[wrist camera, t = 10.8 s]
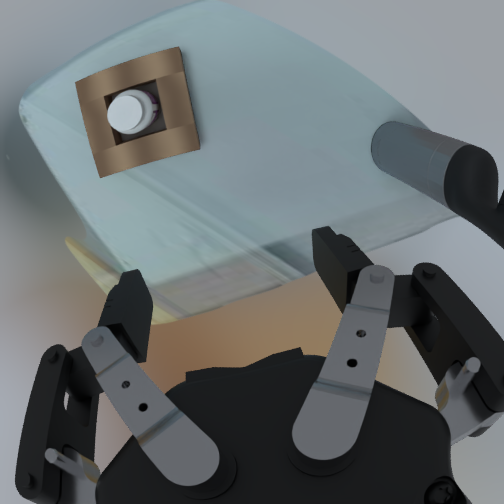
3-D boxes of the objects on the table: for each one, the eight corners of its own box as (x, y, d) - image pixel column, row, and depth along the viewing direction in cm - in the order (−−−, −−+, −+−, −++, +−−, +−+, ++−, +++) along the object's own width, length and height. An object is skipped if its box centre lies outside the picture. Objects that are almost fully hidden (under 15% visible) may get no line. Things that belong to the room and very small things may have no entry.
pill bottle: (119, 97, 32) (96, 97, 24) (156, 86, 32) (143, 81, 24) (127, 133, 35) (107, 143, 26) (163, 122, 35) (153, 129, 27)
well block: (180, 51, 31) (178, 46, 27) (200, 144, 38) (200, 149, 34) (86, 83, 30) (75, 82, 26) (108, 170, 37) (100, 178, 34)
